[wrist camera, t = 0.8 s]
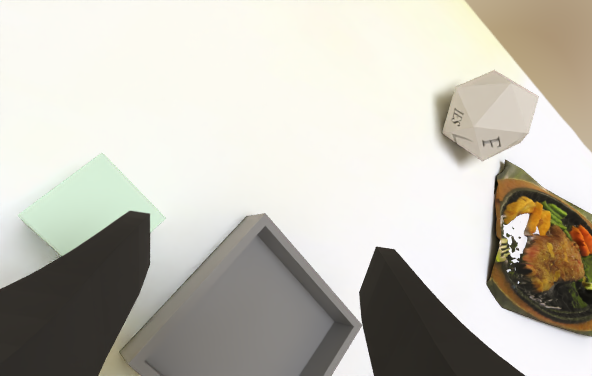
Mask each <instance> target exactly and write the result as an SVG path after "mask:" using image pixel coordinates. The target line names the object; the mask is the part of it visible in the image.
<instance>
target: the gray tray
mask: <svg viewBox="0 0 592 376" xmlns="http://www.w3.org/2000/svg"><path fill="white" fill-rule="evenodd" d="M361 327H362V324H361V323H360V322H359V321H358V320H357V319H356V317H355V316H354V315H353V314H352V313H351V312H350V310H349V309H348V308H347V307H346V306H345V305H344V304H343V302H342V301H341V300H340V299H339V298H338V297H337V295H336V294H335V293H334V292H333V291H332V290H331V289H330V287H329V286H328V285H327V284H326V283H325V282H324V280H323V279H322V278H321V277H320V276H319V275H318V274H317V272H316V271H315V270H314V269H313V268H312V267H311V265H310V264H309V263H308V262H307V261H306V260H305V259H304V257H303V256H302V255H301V254H300V253H299V252H298V250H297V249H296V248H295V247H294V246H293V245H292V244H291V242H290V241H289V240H288V239H287V238H286V237H285V235H284V234H283V233H282V232H281V231H280V230H279V229H278V227H277V226H276V225H275V224H274V223H273V222H272V220H271V219H270V218H269V217H268V216H267V215H266V214H265V213H264V214H257V215H251V216H246V217H245V219H244V220H243V221H242V222H241V223H240V224H239V225H238V226H237V227H236V228H235V229H234V230H233V231H232V232H231V233H230V235H229V236H228V237H227V238H226V239H225V240H224V241H223V242H222V243H221V244H220V245H219V246H218V247H217V248H216V249H215V251H214V252H213V253H212V254H211V255H210V256H209V257H208V258H207V259H206V260H205V261H204V262H203V263H202V264H201V265H200V267H199V268H198V269H197V270H196V271H195V272H194V273H193V274H192V275H191V276H190V277H189V278H188V279H187V280H186V281H185V283H184V284H183V285H182V286H181V287H180V288H179V289H178V290H177V291H176V292H175V293H174V294H173V295H172V296H171V297H170V299H169V300H168V301H167V302H166V303H165V304H164V305H163V306H162V307H161V308H160V309H159V310H158V311H157V312H156V313H155V315H154V316H153V317H152V318H151V319H150V320H149V321H148V322H147V323H146V324H145V325H144V326H143V327H142V328H141V329H140V331H139V332H138V333H137V334H136V335H135V336H134V337H133V338H132V339H131V340H130V341H129V342H128V343H127V344H126V345H125V347H124V348H123V349H122V350H121V351H120V354H121V355H122V356H123V358H124V359H125V361H126V362H127V364H128V365H129V366H130V367H132V368H133V369H134V370H135V371H136V372H137V373H139V374H140V375H141V376H332V374H333V372H334V371H335V369H336V367H337V366H338V364H339V363H340V361H341V359H342V358H343V356H344V354H345V353H346V351H347V349H348V348H349V346H350V345H351V343H352V341H353V340H354V338H355V336H356V335H357V333H358V331H359V330H360V328H361Z"/></svg>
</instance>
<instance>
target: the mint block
mask: <svg viewBox="0 0 592 376" xmlns="http://www.w3.org/2000/svg"><path fill="white" fill-rule="evenodd" d="M128 211H137V212H143V213H150V233H151V232H152V231H153V230H154V229H155V228H156V227H157V226H159V225H160V224H161V223H162V222H163V221H164V220H165V219H166V218H165V217H164V216H163V215H162V214H161V213H160V212H159V211H158V210H157V208H156V207H155V206H154V205H153V204H152V203H151V202H150V201H149V200H148V199H147V198H146V197H145V196H144V195H143V194H142V193H141V192H140V191H139V190H138V189H137V188H136V187H135V186H134V185H133V184H132V183H131V182H130V181H129V180H128V179H127V178H126V176H125V175H124V174H123V173H122V172H121V171H120V170H119V169H118V168H117V167H116V166H115V165H114V164H113V163H112V162H111V161H110V160H109V159H108V158H107V157H106V156H105V155H104V154H103V153H101V154H100V155H98V156H97V157H95V158H94V159H93V160H91V161H90V162H89V163H87V164H86V165H85V166H83V167H82V168H81V169H79V170H78V171H77V172H75V173H74V174H73V175H71V176H70V177H68V178H67V179H66V180H64V181H63V182H62V183H60V184H59V185H58V186H56V187H55V188H54V189H52V190H51V191H50V192H48V193H47V194H46V195H44V196H43V197H41V198H40V199H39V200H37V201H36V202H35V203H33V204H32V205H31V206H29V207H28V208H27V209H25V210H24V211H23V212H21V213H20V214H19V215H18V217H19V218H20V219H21V220H22V221H23V222H24V223H25V224H26V225H27V226H28V227H30V228H31V229H32V230H33V231H34V232H35V233H36V234H37V235H38V236H40V237H41V238H42V239H43V240H44V241H45V242H46V243H47V244H48V245H50V246H51V247H52V248H53V249H54V250H55V251H56V252H57V253H58V254H60V255H61V256H63V255H65V254H66V253H68V252H70V251H71V250H73V249H74V248H76V247H78V246H79V245H81V244H82V243H83V242H85V241H86V240H88V239H89V238H91V237H92V236H94V235H95V234H97V233H98V232H100V231H101V230H103V229H104V228H105V227H107V226H108V225H110V224H111V223H112V222H114V221H115V220H117V219H118V218H120V217H121V216H122V215H124V214H125V213H127V212H128Z"/></svg>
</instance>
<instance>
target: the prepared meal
mask: <svg viewBox="0 0 592 376" xmlns="http://www.w3.org/2000/svg"><path fill="white" fill-rule="evenodd" d="M496 190H497V192H496ZM495 192H496V198H495V207H496V217H497V221H496V236H497V237H498V238H499V239H500V241H499V250H498V253H497V256H496V260H495V263H494V266H493V270H492V274H491V277H490V279H489V280H488V282H487V283H486V284H487V286H488V288H489V290H490V292H491V293H492V295H493V296H494V298H495V299H496V301H497V302H498V303H499V304H500V305H501V306H502V308H505V309H508V310H511V311H513V312H516V313H519V314H522V315H524V316H527V317H530V318H533V319H536V320H539V321H541V322H544V323H547V324H550V325H553V326H556V327H559V328H562V329H565V330H569V331H572V332H575V333H579V334H583V335H587V336H591V337H592V214H590V213H588V212H586V211H585V210H583V209H581V208H579V207H577V206H575V205H573V204H572V203H570V202H568V201H566V200H564V199H562V198H561V197H559V196H557V195H555V194H554V193H552V192H550V191H548V190H547V189H545V188H543V187H542V186H541V185H540V184H539V183H537V182H536V181H535V180H534V179H533V178H532V177H531V176H530V175H528V174H527V173H526V172H525V171H524V170H523V169H521V168H519V167H518V166H516V165H514V164H512V163H511V162H509V161H507V160H505V166H504V170H503V172H501V173H500V174H498V175H497V177H496V184H495V191H494V194H495ZM524 213H528V214H529V220H528V223H527V226H526V228H525V231H524V235H525V236H526V237H527V243H526V246H525V248H524V250H523V254H520V259H519V258H518V259H517V260H518V261H519V263H518V262H516V263H513V262H512V261H511V260H513V259H516V258H512V257H511V256H510V253H509V251H508V250H509V249H510V248H509V246H510V247H511V248H512V253H513V252H514V251H515V247H517V246H518V245H517V244H518V243H517V242H516V241H515V240H514V237H513V236H512V235H509V234H508V233H507V234H506V236H507V237H509V236H512V237H511V238H512V244H511V245H509V244H508V239H507V238H505V237H504V236H503V234H504V230H503V227H504V226H503V224H504V225H507V224H509V223H510V222H511V221H512V220H514V219H515V218H516V216H519V215H520V214H521V215H522V214H524ZM501 216H502V217H501ZM503 221H504V223H503ZM536 226H537V227H538V230H539V233H540V235H539V234H533V233H534V232H536ZM512 228H513V227H512ZM513 229H514V228H513ZM520 238H521V237H519V239H520ZM516 249H517V248H516ZM517 250H518V251H519V248H518V249H517ZM511 263H512V264H511ZM510 264H511V265H510ZM508 269H511V271H509V272H507V271H506V270H508ZM515 269H516V271H515ZM518 281H519V282H520V283H519V284H517V283H518Z"/></svg>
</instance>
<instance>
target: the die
mask: <svg viewBox="0 0 592 376" xmlns="http://www.w3.org/2000/svg"><path fill="white" fill-rule="evenodd" d="M538 98H539V96H537V95H536V94H534V93H532V92H530V91H529V90H527V89H525V88H524V87H522V86H520V85H519V84H517V83H515V82H514V81H512V80H510V79H509V78H507V77H505V76H504V75H502V74H500V73H499V72H497V71H495V70H493V71H491V72H489V73H486V74H484V75H482V76H480V77H477V78H475V79H473V80H470V81H468V82H466V83H463V84H461V85H459V86H456V87H455V90H454V93H453V97H452V100H451V104H450V107H449V111H448V114H447V117H446V121H445V124H444V128H443V131H442V134H444V135H445V136H447V137H448V138H450V139H451V140H452V141H454V142H456V143H457V144H458V145H460V146H461V147H463V148H464V149H465V150H467V151H468V152H470V153H471V154H473V155H474V156H476V157H477V158H478V159H480V160H481V161H484V160H486V159H488V158H490V157H492V156H494V155H496V154H498V153H500V152H502V151H504V150H506V149H508V148H510V147H512V146H514V145H517V144H519V143H520V142H521V141H522V140H523V139H524V138H525V137H526V136H527V134H528V133H529V130H530V126H531V122H532V119H533V115H534V112H535V108H536V105H537V101H538Z"/></svg>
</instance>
